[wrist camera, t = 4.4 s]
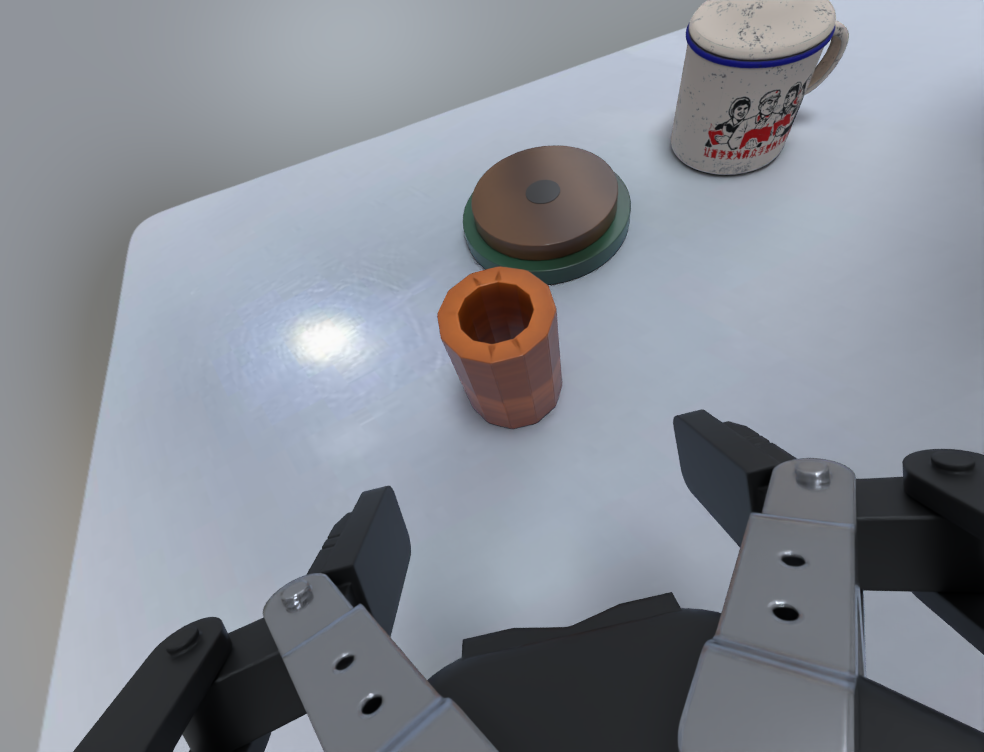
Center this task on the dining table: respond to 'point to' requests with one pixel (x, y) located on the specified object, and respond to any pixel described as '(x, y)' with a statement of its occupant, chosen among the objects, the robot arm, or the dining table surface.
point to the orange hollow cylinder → (504, 344)
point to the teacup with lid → (750, 79)
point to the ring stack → (548, 213)
